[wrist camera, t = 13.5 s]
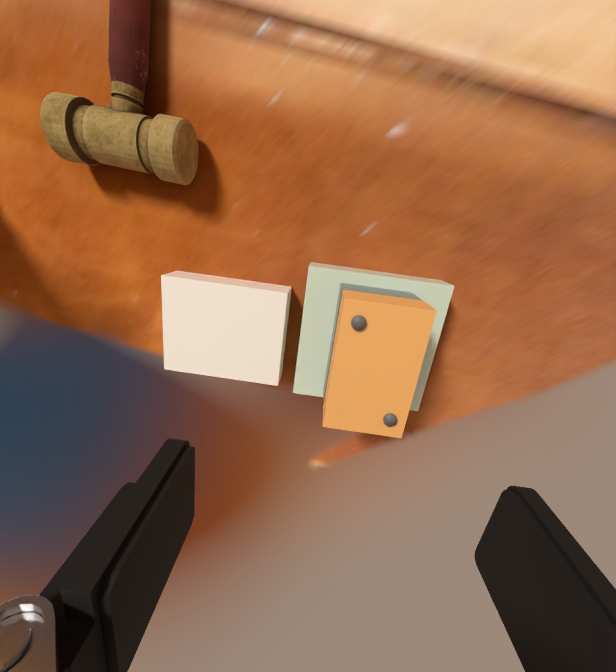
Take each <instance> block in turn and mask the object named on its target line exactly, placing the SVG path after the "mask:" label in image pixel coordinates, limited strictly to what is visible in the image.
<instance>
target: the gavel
mask: <svg viewBox="0 0 616 672" xmlns="http://www.w3.org/2000/svg"><path fill="white" fill-rule="evenodd" d="M151 3H152V0H110V11H109V68H110V76H111V95H112V96H113V97H112V98H111V105H110V108H108V107H104V106H99V105H94V104H93V103H92V102H91V101H90V100H88V99H86V98H84V97H80V96H75V95H70V94H65V93H61V92H52V93H50V94H48V95H47V96H46V97H45V98H44V100H43V102H42V106H41V113H40V117H41V125H42V129H43V132H44V135H45V137H46V139H47V141H48V143H49V145H50V146H51V148H52V149H53V150H54V151H55V152H56V153H57V154H58V155H59V156H60V157H61V158H63V159H65V160H68V161H72V162H77V163H82V164H87V165H91V166H94V165H98V164H100V163H102V164H106V165H111V166H116V167H121V168H125V169H130V170H135V171H140V172H144V173H149V174H156V175H157V176H158V178H159V179H161V180H163V181H167V182H172V183H177V184H181V185H189V184H190V183H191V182H192V181H193V179H194V177H195V175H196V172H197V169H198V155H199V147H198V140H197V136H196V133H195V130H194V128H193V126H192V124H191V123H190V122H189V121H188V120H187V119H184V118H179V117H174V116H170V115H165V114H158V115H156V116H155V117H154V119H153V118H152V117H150V116H146V115H143V109H142V108H141V107H143V103H144V92H145V88H146V84H147V79H148V64H149V44H150V24H151Z"/></svg>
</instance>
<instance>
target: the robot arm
mask: <svg viewBox="0 0 616 672" xmlns="http://www.w3.org/2000/svg"><path fill="white" fill-rule="evenodd" d="M194 481H195V448H194V447H190V445H189V441H184V440H178V439H168V440H167V441H166V442H165V443H164V445H163V446H162V447H161V449H160V450H159V452H158V453H157V454H156V456H155V457H154V458H153V460H152V461H151V463H150V464H149V465H148V467H147V468H146V470H145V471H144V472H143V474H142V475H141V476H140V478H139V479H138V481H137V482H136V483H127V484H125V485H124V486H123V487H122V488H121V489H120V490H119V492H118V493H117V494H116V496H115V497H114V498H113V500H112V501H111V502H110V504H109V505H108V506H107V508H106V509H105V510H104V511H103V513H102V514H101V515H100V516H99V518H98V519H97V520H96V522H95V523H94V524H93V526H92V527H91V528H90V530H89V531H88V532H87V534H86V535H85V536H84V537H83V539H82V540H81V541H80V543H79V544H78V545H77V547H76V548H75V549H74V551H73V552H72V553H71V554H70V556H69V557H68V558H67V560H66V561H65V562H64V564H63V565H62V566H61V568H60V569H59V570H58V571H57V573H56V574H55V575H54V577H53V578H52V579H51V581H50V582H49V583H48V585H47V586H46V587H45V588H44V590H43V591H42V592H41V594H40V595H39V596H38V595H27V596H21V597H18V598H15V599H12V600H9V601H6V602H4V603H3V604H1V605H0V672H127V671H128V669H129V667H130V664H131V662H132V660H133V658H134V655H135V653H136V651H137V649H138V646H139V644H140V642H141V639H142V637H143V635H144V633H145V630H146V628H147V626H148V623H149V621H150V619H151V616H152V614H153V612H154V610H155V607H156V605H157V603H158V600H159V598H160V596H161V593H162V591H163V589H164V587H165V584H166V582H167V580H168V577H169V575H170V573H171V570H172V568H173V566H174V563H175V561H176V559H177V557H178V554H179V552H180V550H181V548H182V545H183V543H184V541H185V538H186V536H187V534H188V531H189V529H190V527H191V524H192V521H193V517H194V483H195V482H194ZM475 561H476V565H477V567H478V569H479V571H480V574H481V576H482V578H483V580H484V582H485V585H486V587H487V589H488V591H489V593H490V596H491V598H492V600H493V602H494V604H495V606H496V609H497V610H498V613H499V615H500V617H501V619H502V622H503V624H504V626H505V628H506V630H507V633H508V635H509V637H510V639H511V641H512V643H513V646H514V648H515V650H516V652H517V655H518V657H519V659H520V661H521V663H522V665H523V668H524V670H525V672H616V589H615V588H614V587H613V586H612V584H611V583H610V582H609V581H608V579H607V578H606V577H605V576H604V574H603V573H602V572H601V571H600V569H599V568H598V567H597V566H596V564H594V562H593V561H592V560H591V558H590V557H589V556H588V555H587V553H586V552H585V551H584V550H583V549H582V547H581V546H580V545H579V543H578V542H577V541H576V540H575V539H574V537H573V536H572V535H571V534H570V532H569V531H568V530H567V529H566V527H565V526H564V525H563V524H562V523H561V521H560V520H559V519H558V518H557V516H556V515H555V514H554V513H553V511H552V510H551V509H550V508H549V506H548V505H547V504H546V503H545V501H544V500H543V499H542V498H541V497H540V496H539V494H538V493H537V492H536V491H535V490H534V489H531V488H525V487H517V486H510V487H508V488H507V490H504V491H503V492H502V493H501V496H500V498H499V500H498V502H497V504H496V507H495V509H494V511H493V513H492V515H491V517H490V520H489V522H488V524H487V526H486V528H485V531H484V533H483V535H482V537H481V540H480V541H479V544H478V546H477V548H476V551H475Z"/></svg>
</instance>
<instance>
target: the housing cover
mask: <svg viewBox="0 0 616 672" xmlns="http://www.w3.org/2000/svg"><path fill="white" fill-rule="evenodd" d="M436 312H437V311H436V310H435V309H434V308H432V307H431V306H430V305H429V304H427V303H426V302H425V301H423V300H415V299H408V298H401V297H394V296H386V295H379V294H372V293H365V292H357V291H350V290H342V296H341V302H340V308H339V314H338V320H337V326H336V332H335V338H334V345H333V351H332V357H331V363H330V369H329V375H328V381H327V387H326V393H325V399H324V405H323V427H328V428H335V429H341V430H348V431H355V432H362V433H368V434H375V435H382V436H389V437H395V438H402V435H403V431H404V428H405V424H406V421H407V417H408V413H409V410H410V406H411V402H412V399H413V395H414V392H415V388H416V384H417V381H418V377H419V373H420V370H421V366H422V363H423V359H424V355H425V352H426V348H427V344H428V341H429V337H430V334H431V330H432V326H433V323H434V319H435V316H436Z"/></svg>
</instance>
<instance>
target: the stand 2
mask: <svg viewBox="0 0 616 672" xmlns="http://www.w3.org/2000/svg"><path fill="white" fill-rule="evenodd" d="M340 283H347V284H354V285H361V286H368V287H376V288H383V289H390V290H397V291H405V292H412V293H413V294H415V295H416V296H417V297H419V298H420V299H421V300H423V301H425V302H426V303H427V304H429V305H430V306H431V307H432V308H434V309H435V310H436V311H437V312H436V316H435V319H434V323H433V326H432V330H431V334H430V337H429V341H428V344H427V348H426V352H425V355H424V359H423V363H422V366H421V370H420V373H419V377H418V381H417V384H416V388H415V392H414V395H413V399H412V402H411V406H410V410H413V411H418V410H419V407H420V403H421V400H422V396H423V393H424V389H425V386H426V382H427V379H428V376H429V372H430V369H431V365H432V362H433V358H434V355H435V351H436V348H437V344H438V341H439V338H440V334H441V331H442V327H443V324H444V320H445V317H446V313H447V310H448V307H449V303H450V300H451V296H452V293H453V289H454V286H453V285H451V284H449V283H447V282H445V281H442V280H436V279H429V278H422V277H415V276H408V275H400V274H393V273H386V272H379V271H372V270H364V269H357V268H350V267H343V266H336V265H328V264H321V263H314V262H311V263H310V265H309V269H308V277H307V285H306V293H305V300H304V308H303V316H302V324H301V332H300V340H299V348H298V356H297V363H296V371H295V379H294V387H293V393H297V394H304V395H312V396H318V397H323V387H324V380H325V374H326V368H327V362H328V356H329V350H330V344H331V337H332V331H333V325H334V319H335V313H336V307H337V300H338V294H339V288H340Z"/></svg>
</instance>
